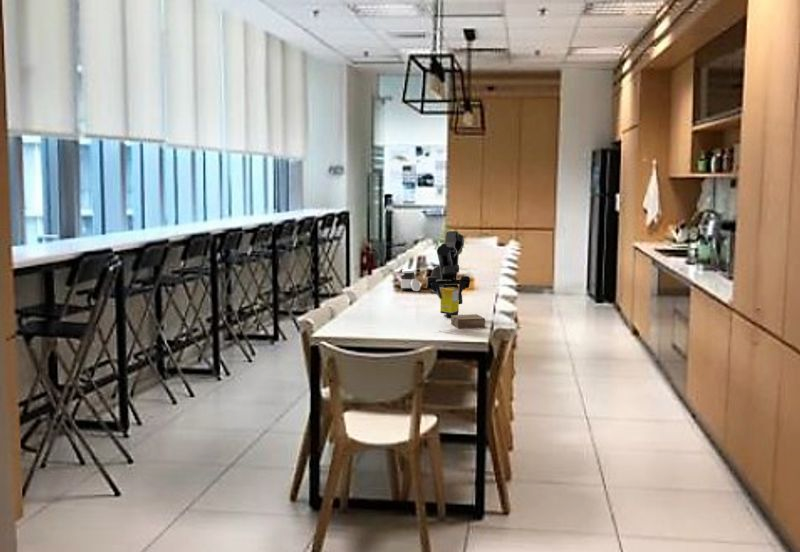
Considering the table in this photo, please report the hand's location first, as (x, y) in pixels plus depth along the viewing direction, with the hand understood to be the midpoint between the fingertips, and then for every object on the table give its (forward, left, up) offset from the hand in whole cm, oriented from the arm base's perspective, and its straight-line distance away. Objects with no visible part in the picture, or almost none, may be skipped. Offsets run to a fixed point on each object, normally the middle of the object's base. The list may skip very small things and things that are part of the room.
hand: (450, 298), depth 398 cm
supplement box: (-2, 0, -7) cm, 7 cm away
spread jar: (-126, +11, -14) cm, 127 cm away
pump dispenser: (-114, +24, -14) cm, 117 cm away
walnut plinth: (-5, +9, -13) cm, 17 cm away
